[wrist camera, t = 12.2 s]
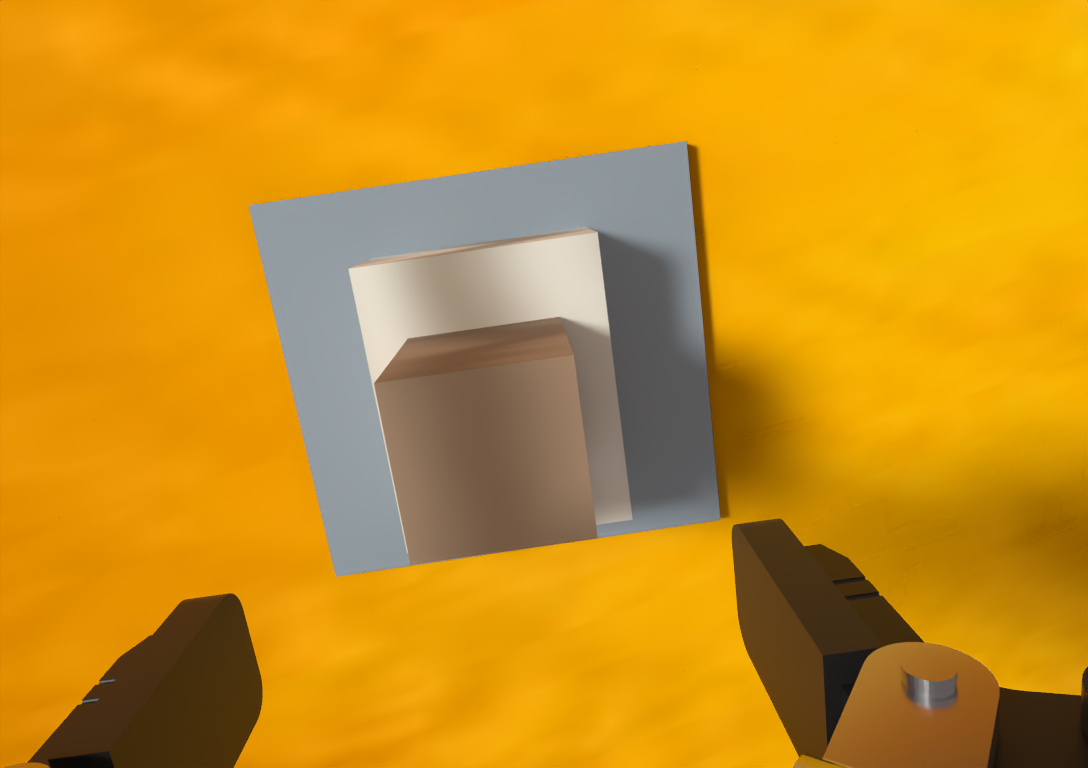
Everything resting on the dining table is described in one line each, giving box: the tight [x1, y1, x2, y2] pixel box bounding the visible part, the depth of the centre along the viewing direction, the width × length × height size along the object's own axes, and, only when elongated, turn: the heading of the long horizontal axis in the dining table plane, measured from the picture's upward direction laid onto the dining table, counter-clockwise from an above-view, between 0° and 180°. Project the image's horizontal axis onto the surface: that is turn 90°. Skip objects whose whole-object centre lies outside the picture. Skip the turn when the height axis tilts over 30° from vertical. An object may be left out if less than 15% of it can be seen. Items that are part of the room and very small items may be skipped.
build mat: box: [249, 141, 720, 576], centre depth 29 cm, size 16×15×1 cm
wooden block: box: [348, 227, 633, 553], centre depth 27 cm, size 8×10×4 cm
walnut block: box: [374, 317, 598, 565], centre depth 22 cm, size 5×5×6 cm
